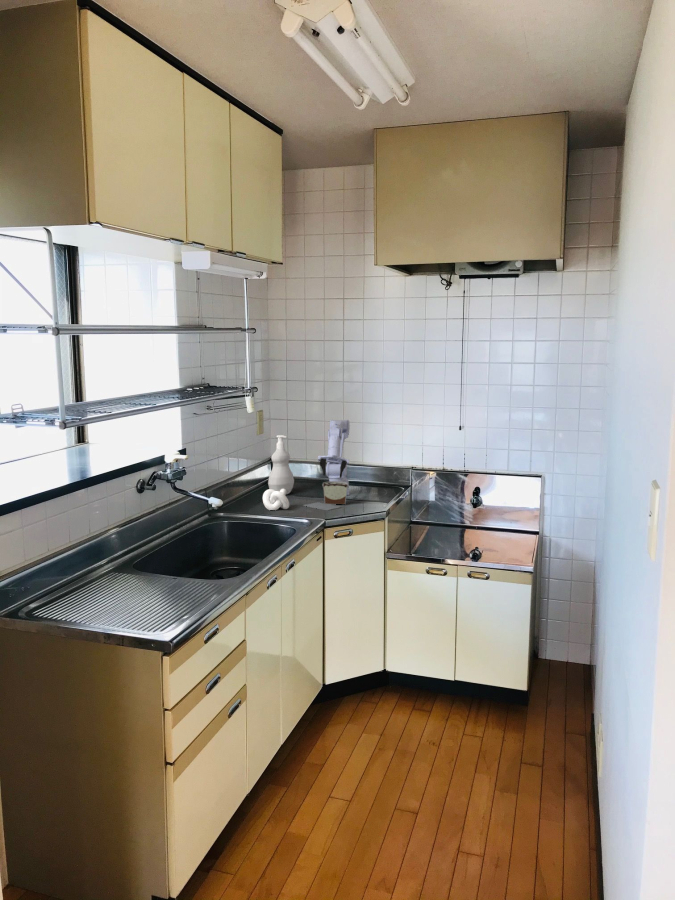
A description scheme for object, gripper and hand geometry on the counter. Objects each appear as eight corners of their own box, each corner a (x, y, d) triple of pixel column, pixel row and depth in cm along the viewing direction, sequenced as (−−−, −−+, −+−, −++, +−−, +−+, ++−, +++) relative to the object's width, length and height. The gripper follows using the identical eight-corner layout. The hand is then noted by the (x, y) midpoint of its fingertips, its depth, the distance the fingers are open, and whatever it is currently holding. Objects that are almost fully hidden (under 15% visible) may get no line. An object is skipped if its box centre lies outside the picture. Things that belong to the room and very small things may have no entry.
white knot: (268, 506, 329) (267, 486, 328) (293, 506, 327) (293, 487, 325) (261, 511, 318) (260, 491, 317) (287, 511, 316) (287, 491, 314)
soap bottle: (283, 497, 348) (282, 437, 344) (262, 496, 353) (261, 436, 349) (299, 491, 363) (298, 434, 359) (279, 490, 368) (278, 433, 364)
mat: (317, 502, 334) (317, 502, 334) (342, 507, 323) (342, 506, 323) (302, 505, 328) (302, 505, 328) (327, 510, 317) (327, 510, 316)
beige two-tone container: (349, 502, 334) (349, 481, 333) (348, 505, 328) (348, 483, 327) (323, 502, 335) (323, 480, 334) (321, 504, 329) (322, 482, 328)
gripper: (320, 444, 334) (318, 469, 327) (350, 448, 336) (349, 473, 329) (317, 452, 340) (316, 476, 333) (348, 455, 342) (346, 480, 335)
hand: (332, 475), depth 331 cm, fingers open, 7 cm apart
